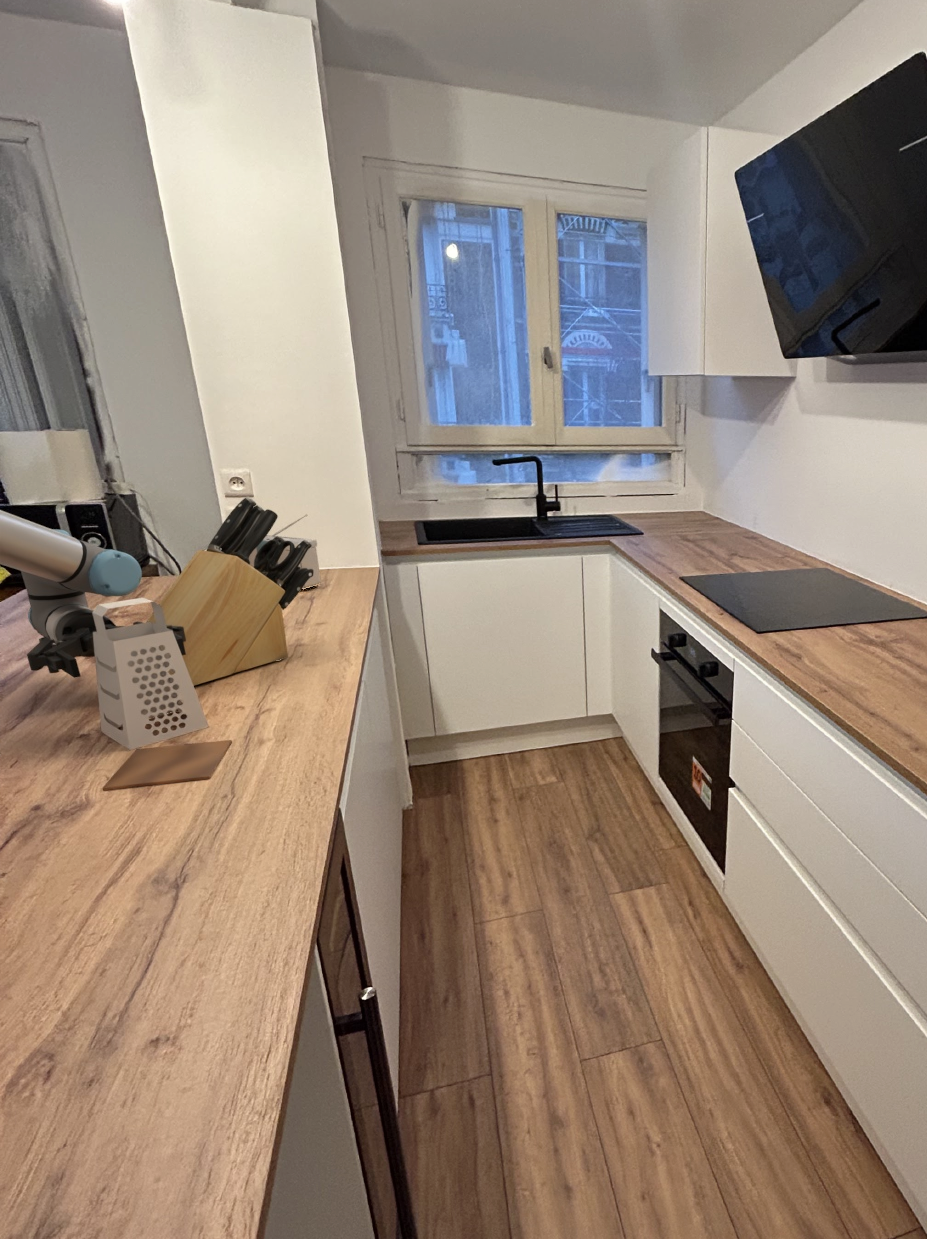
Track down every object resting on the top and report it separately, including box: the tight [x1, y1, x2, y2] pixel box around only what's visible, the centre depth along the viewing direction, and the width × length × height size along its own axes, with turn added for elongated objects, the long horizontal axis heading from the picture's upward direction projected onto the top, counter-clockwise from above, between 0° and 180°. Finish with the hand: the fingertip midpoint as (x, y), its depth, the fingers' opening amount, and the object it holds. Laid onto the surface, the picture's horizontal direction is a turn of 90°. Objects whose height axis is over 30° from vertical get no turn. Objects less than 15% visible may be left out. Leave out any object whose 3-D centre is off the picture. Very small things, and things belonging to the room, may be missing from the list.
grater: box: [92, 597, 210, 751], centre depth 108 cm, size 10×10×20 cm
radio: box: [249, 513, 322, 588], centre depth 199 cm, size 21×8×20 cm, turn 72°
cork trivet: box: [102, 739, 233, 791], centre depth 101 cm, size 12×12×1 cm
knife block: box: [145, 496, 314, 686], centre depth 134 cm, size 11×35×31 cm, turn 155°
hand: (131, 657), depth 110 cm, fingers open, 13 cm apart
